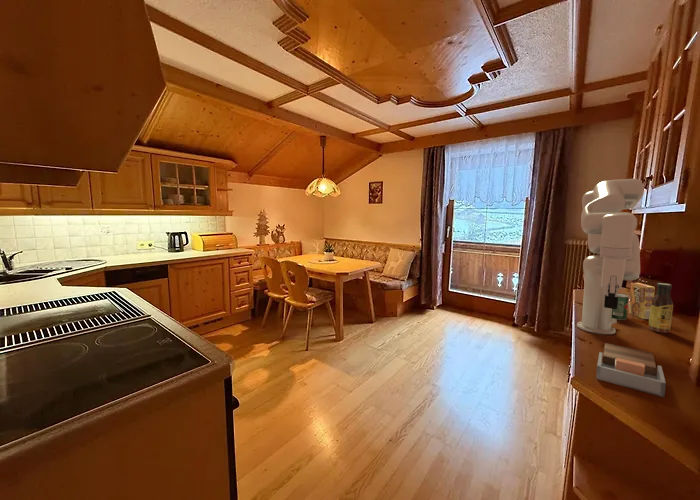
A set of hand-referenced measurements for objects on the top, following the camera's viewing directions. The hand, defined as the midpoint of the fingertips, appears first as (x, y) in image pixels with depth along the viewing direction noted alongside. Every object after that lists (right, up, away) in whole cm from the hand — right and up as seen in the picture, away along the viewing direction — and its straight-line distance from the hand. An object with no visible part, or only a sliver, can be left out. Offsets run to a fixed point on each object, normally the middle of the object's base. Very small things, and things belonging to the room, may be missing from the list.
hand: (610, 307), depth 97 cm
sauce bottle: (+43, -15, +26) cm, 52 cm away
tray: (-3, -19, -9) cm, 22 cm away
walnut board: (+6, -18, 0) cm, 19 cm away
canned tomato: (+40, -13, +42) cm, 60 cm away
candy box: (+52, -13, +43) cm, 69 cm away
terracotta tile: (-3, -16, -9) cm, 19 cm away
